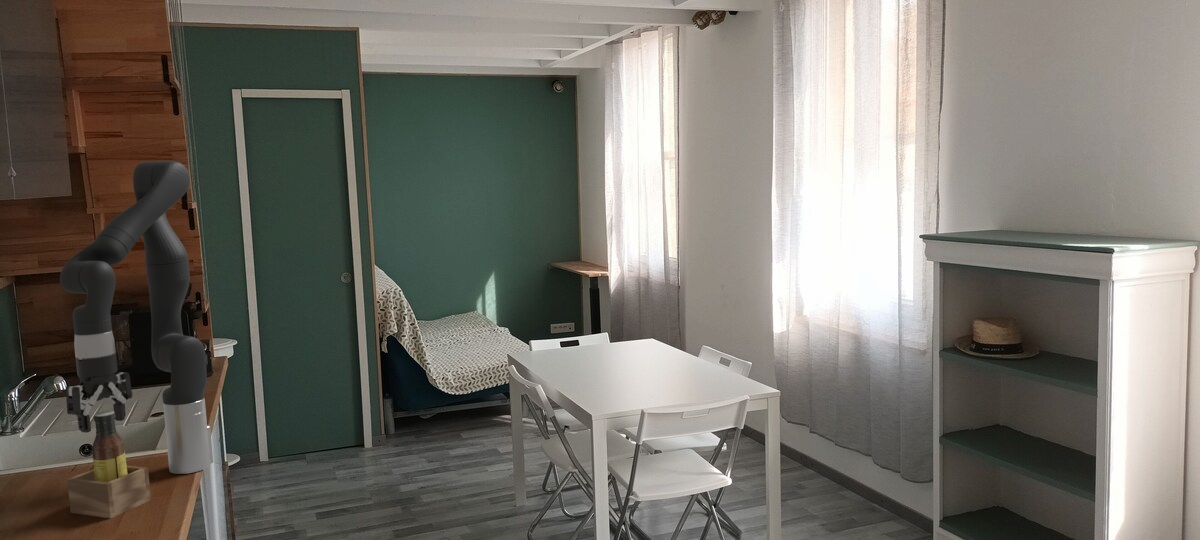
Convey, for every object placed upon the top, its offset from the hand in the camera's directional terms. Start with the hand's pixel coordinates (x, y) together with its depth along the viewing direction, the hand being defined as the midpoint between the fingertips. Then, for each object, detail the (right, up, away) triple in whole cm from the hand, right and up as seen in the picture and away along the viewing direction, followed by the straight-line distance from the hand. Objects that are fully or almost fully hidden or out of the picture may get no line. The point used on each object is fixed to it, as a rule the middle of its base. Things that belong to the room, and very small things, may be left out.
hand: (103, 426), depth 190 cm
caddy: (+1, -18, +2) cm, 18 cm away
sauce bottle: (+1, -17, +3) cm, 17 cm away
